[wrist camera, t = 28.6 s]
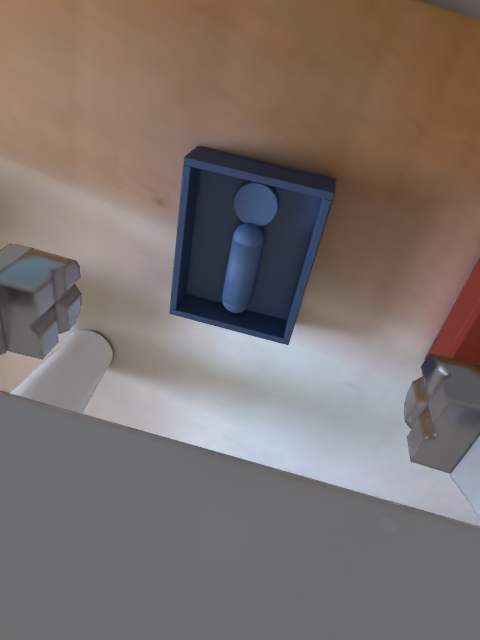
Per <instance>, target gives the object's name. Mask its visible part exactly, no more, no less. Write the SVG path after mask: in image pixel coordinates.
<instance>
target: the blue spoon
mask: <svg viewBox="0 0 480 640" xmlns="http://www.w3.org/2000/svg"><path fill="white" fill-rule="evenodd" d="M233 206H234V210H235V213H236V215H237V217H238V218H239V219H240V220H241V221H242V222H243V223H244V224H241V225H240V226H238V227H237V228H236V230H235V231H234V234H233V238H232V244H231V249H230V255H229V261H228V266H227V272H226V278H225V283H224V289H223V295H222V302H223V305H224V307H225V308H226V309H227V310H228V311H230V312H232V313H240V312H243V311H245V310H246V309H247V308H248V306H249V304H250V301H251V297H252V292H253V288H254V283H255V279H256V274H257V270H258V265H259V261H260V256H261V252H262V247H263V243H264V235H263V232H262V230H261V229H260V228H259V227H260V226H264V225H266V224H268V223H270V222H271V221H272V220H273V219H274V217H275V216H276V214H277V211H278V208H279V196H278V193H277V191H276V190H275V188H274V187H273V186H269V185H265V184H261V183H257V182H252V181H247V182H245V183H244V184H243V185H242V186H241V187H240V188H239V189H238V191H237V193H236V194H235V197H234V202H233Z"/></svg>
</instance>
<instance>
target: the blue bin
mask: <svg viewBox="0 0 480 640" xmlns="http://www.w3.org/2000/svg"><path fill="white" fill-rule="evenodd" d="M247 181H252V182H257V183H261V184H265V185H269V186H273V187H274V188H275V190H276V191H277V193H278V196H279V208H278V211H277V214H276V216H275V217H274V219H273V220H272V221H271V222H270V223H268V224H266V225H264V226H260V227H259V228H260V229H261V230H262V232H263V235H264V243H263V247H262V252H261V256H260V261H259V265H258V270H257V274H256V279H255V283H254V288H253V292H252V297H251V301H250V304H249V306H248V308H247V309H246V310H245V311H243V312H240V313H232V312H230V311H228V310H227V309H226V308H225V307H224V305H223V302H222V295H223V289H224V283H225V278H226V272H227V266H228V261H229V255H230V249H231V244H232V238H233V234H234V231H235V230H236V228H237V227H238V226H240V225H241V224H244V223H243V222H242V221H241V220H240V219H239V218H238V217H237V215H236V213H235V210H234V206H233V202H234V197H235V194H236V193H237V191H238V189H239V188H240V187H241V186H242V185H243V184H244V183H245V182H247ZM335 181H336V179H334V178H330V177H326V176H322V175H317V174H313V173H309V172H305V171H300V170H296V169H292V168H288V167H283V166H279V165H275V164H271V163H267V162H262V161H258V160H254V159H250V158H245V157H241V156H237V155H233V154H229V153H224V152H220V151H216V150H212V149H207V148H203V147H199V146H197V147H196V148H195V149H194V150H192V151H191V152H190V153H189V154H187V155H186V156H185V157H184V166H183V174H182V185H181V196H180V206H179V217H178V227H177V238H176V249H175V259H174V270H173V281H172V291H171V302H170V314H172V315H176V316H180V317H184V318H188V319H191V320H195V321H199V322H203V323H206V324H210V325H214V326H218V327H222V328H225V329H229V330H233V331H237V332H241V333H244V334H248V335H252V336H256V337H259V338H263V339H267V340H271V341H275V342H278V343H282V344H286V345H288V344H289V341H290V338H291V335H292V332H293V328H294V325H295V322H296V318H297V315H298V312H299V309H300V305H301V302H302V299H303V295H304V292H305V289H306V286H307V282H308V279H309V276H310V272H311V269H312V266H313V262H314V259H315V256H316V253H317V249H318V246H319V243H320V239H321V236H322V233H323V230H324V226H325V223H326V220H327V216H328V213H329V210H330V207H331V203H332V200H333V197H334V193H335Z"/></svg>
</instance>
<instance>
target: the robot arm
mask: <svg viewBox="0 0 480 640" xmlns="http://www.w3.org/2000/svg"><path fill="white" fill-rule="evenodd" d="M80 278H81V277H80V265H79V264H78V263H77V261H76V260H73V259H69V258H66V257H62V256H59V255H55V254H52V253H48V252H44V251H41V250H37V249H34V248H30V247H26V246H22V245H18V244H9V245H8V246H6V247H5V248H3V249H2V250H0V355H2V354H4V353H6V351H10V352H14V353H18V354H22V355H26V356H30V357H34V358H38V359H43V358H44V357H45V356H46V355H47V354H48V353H49V352H50V351H51V350H52V349H53V347H54V346H55V345H56V344H57V343H58V342H59V340H58V334H60V333H63V332H66V331H69V330H70V329H71V327H72V326H73V325H74V324H75V323H76V320H77V318H78V316H79V314H80V310H81V304H82V298H81V293H80V291H79V290H78V288H77V287H76V285H75V283H76V282H77V281H78V280H79V279H80ZM421 369H422V374H423V377H421V378H419V379H417V380H415V381H413V382H412V384H411V386H410V388H409V390H408V392H407V396H406V399H405V403H404V419H405V422H406V424H407V425H408V426H409V427H410V428H411V431H410V433H409V435H408V436H407V440H408V447H409V454H410V460H411V462H414V463H417V464H421V465H424V466H427V467H430V468H434V469H437V470H440V471H444V472H447V473H450V476H451V478H452V479H453V480H454V482H455V483H456V485H457V486H458V488H459V489H460V490H461V492H462V493H463V495H464V496H465V498H466V499H467V501H468V502H469V503H470V505H471V506H472V508H473V509H474V511H475V512H476V513H477V515H478V516H479V518H480V365H479V364H474V363H470V362H466V361H461V360H457V359H453V358H449V357H445V356H440V355H436V354H432V353H431V354H430V355H429V356H428V357H427V358H426V359H425V361H424V363H423V364H422V366H421ZM0 640H480V526H477V525H473V524H470V523H466V522H462V521H459V520H455V519H452V518H448V517H444V516H441V515H437V514H434V513H430V512H427V511H423V510H420V509H416V508H413V507H409V506H406V505H402V504H399V503H395V502H392V501H388V500H385V499H381V498H378V497H374V496H371V495H367V494H364V493H360V492H356V491H353V490H349V489H346V488H342V487H339V486H335V485H332V484H328V483H325V482H321V481H318V480H314V479H311V478H307V477H304V476H300V475H297V474H293V473H290V472H286V471H283V470H279V469H276V468H272V467H269V466H265V465H262V464H258V463H255V462H251V461H248V460H244V459H241V458H237V457H234V456H230V455H226V454H223V453H219V452H216V451H212V450H209V449H205V448H202V447H198V446H195V445H191V444H187V443H184V442H180V441H177V440H173V439H170V438H166V437H163V436H159V435H156V434H152V433H148V432H145V431H141V430H138V429H134V428H131V427H127V426H124V425H120V424H117V423H113V422H109V421H106V420H102V419H99V418H95V417H92V416H88V415H85V414H81V413H78V412H74V411H71V410H67V409H64V408H60V407H57V406H53V405H50V404H46V403H43V402H39V401H36V400H32V399H28V398H25V397H21V396H18V395H14V394H11V393H7V392H4V391H0Z"/></svg>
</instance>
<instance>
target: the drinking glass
mask: <svg viewBox="0 0 480 640" xmlns="http://www.w3.org/2000/svg"><path fill="white" fill-rule="evenodd" d="M112 359H113V351H112V348H111V346H110V344H109V342H108V341H107V340H106V339H105V338H104V337H102V336H101V335H100V334H98V333H96V332H93V331H89V330H79V331H76V332H74V333H73V334H71V335H70V336H69V337H68V339H67V340H66V341H65V342H64V343H63V344H62V345H61V346H60V347H59V348H58V349H57V350H56V351H55V352H53V353H52V354H51V355H50V356H49V357H48V358H47V359H46V360H45V361H44V362H43V363H41V364H40V365H39V366H38V367H37V368H36V369H35V370H34V371H33V372H32V373H30V374H29V375H28V376H27V377H26V378H25V379H24V380H23V381H22V382H20V383H19V384H18V385H17V386H16V387H15V388H14V389H13V390H12V391H11V392H10V393H11V394H14V395H18V396H21V397H25V398H28V399H32V400H36V401H39V402H43V403H46V404H50V405H53V406H57V407H60V408H64V409H67V410H71V411H74V412H78V413H81V414H82V413H83V411H84V409H85V407H86V405H87V404H88V402H89V400H90V398H91V396H92V394H93V393H94V391H95V389H96V387H97V385H98V384H99V382H100V380H101V378H102V376H103V375H104V373H105V371H106V370H107V368H108V367H109V366H110V364H111V362H112Z"/></svg>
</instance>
